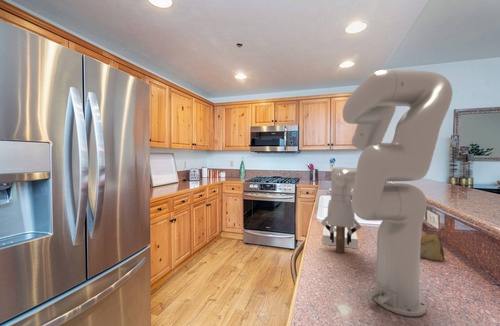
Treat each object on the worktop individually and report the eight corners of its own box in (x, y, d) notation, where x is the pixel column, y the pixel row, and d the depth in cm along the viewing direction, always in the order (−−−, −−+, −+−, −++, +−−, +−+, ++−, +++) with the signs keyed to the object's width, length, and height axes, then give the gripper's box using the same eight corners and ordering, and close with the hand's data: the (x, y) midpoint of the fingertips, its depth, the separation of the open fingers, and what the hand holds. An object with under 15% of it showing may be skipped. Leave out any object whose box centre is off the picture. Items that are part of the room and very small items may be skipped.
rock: (404, 251, 84) (438, 257, 76) (406, 230, 88) (438, 233, 80) (414, 261, 89) (446, 268, 81) (415, 241, 92) (446, 245, 85)
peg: (340, 254, 86) (340, 226, 86) (334, 250, 89) (334, 224, 89) (346, 252, 88) (346, 225, 87) (340, 249, 91) (340, 223, 90)
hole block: (357, 248, 91) (357, 239, 91) (322, 244, 96) (322, 235, 96) (353, 234, 108) (353, 226, 108) (324, 230, 113) (324, 223, 113)
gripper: (363, 197, 88) (362, 242, 89) (319, 195, 94) (318, 236, 95) (366, 201, 81) (365, 249, 82) (318, 198, 87) (317, 243, 88)
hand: (340, 242), depth 88 cm, fingers open, 5 cm apart
